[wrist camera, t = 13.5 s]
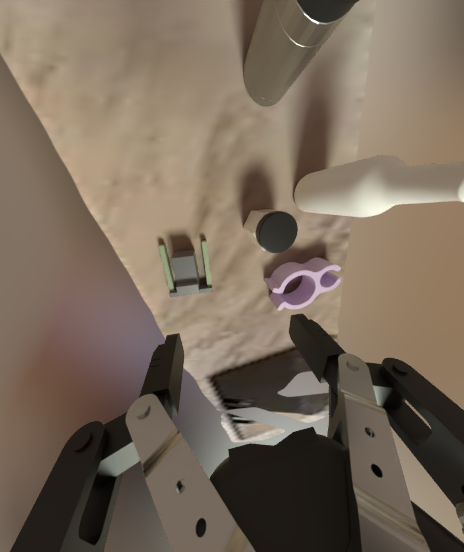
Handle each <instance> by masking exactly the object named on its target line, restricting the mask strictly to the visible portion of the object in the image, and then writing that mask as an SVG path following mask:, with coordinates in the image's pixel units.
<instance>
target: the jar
mask: <svg viewBox="0 0 464 552" xmlns="http://www.w3.org/2000/svg"><path fill="white" fill-rule="evenodd" d="M243 228H244V230H245V232H246V233H247V235H248V236H249V238H250V240H251V241H252V242H253V243H254V244H256V245H257V246H258V247H260V248H261V249H262V250H266V251H268V252H271V253H280V252H283V251H285V250H287V249H288V248H289V247H290V246H291V245H292V244H293V243H294V241H295V239H296V236H297V231H298V228H297V223H296V221H295V219H294V218H293V216H292V215H290V214H288V213H286V212H285V211H281V210H271V209H264V210H253V211H251V212H250V214H249V216H248V218H247V220H246V222H245V224H244V227H243Z"/></svg>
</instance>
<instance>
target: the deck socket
mask: <svg viewBox="0 0 464 552" xmlns="http://www.w3.org/2000/svg"><path fill="white" fill-rule="evenodd" d="M202 249H203V256H204V264H205V271H206V278H207V284H200V285H199V293H206V292H213V291H212V283H211V275H210V267H209V258H208V250H207V242H206V240H202ZM159 250H160V254H161V258H162V262H163V266H164V270H165V274H166V278H167V282H168V286H169V290H170V293H169V294H170V297H177V296H178V293H177V289H176V288H175V283H174V279H173V275H172V270H171V266H170V262H169V257H168V253H167V249H166V244H160V245H159ZM199 293H197V294H199ZM190 295H191V294H190ZM182 296H184V295H182Z"/></svg>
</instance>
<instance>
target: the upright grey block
mask: <svg viewBox="0 0 464 552" xmlns="http://www.w3.org/2000/svg"><path fill="white" fill-rule="evenodd" d="M171 261H172V265H173V269H174V273H175V278H176V282H177V286H176V289H177V293H178V296H182V295H190V294H197V293H199V284H200V279H199V273H198V267H197V261H196V255H195V250H194V249H192V250H182V251H175V252H174V254H173V256H172V258H171Z"/></svg>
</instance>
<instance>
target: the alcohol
mask: <svg viewBox="0 0 464 552" xmlns="http://www.w3.org/2000/svg"><path fill="white" fill-rule="evenodd" d="M294 199H295V203H296V205H297V207H298V208H299V209H300V210H301V211H304V212H312V213H323V214H333V215H344V216H354V217H369V216H374V215H378V214H381V213H382V212H384V211H386V210H388V209H389V208H391V207H392V206H394V205H397V204H413V203H428V202H445V201H461V202H464V161H454V162H443V163H433V164H423V165H412V166H410V165H406V163H405V162H404V161H402V160H401V159H399V158H398V157H396V156H386V155H381V156H380V155H378V156H375V157H371V158H367V159H363V160H359V161H355V162H351V163H348V164H344V165H340V166H336V167H332V168H329V169H325V170H321V171H317V172H313V173H310V174H307V175H305V176H304V177H303V178H302V179H301V180H300V181H299V183H298V184H297V186H296V189H295V194H294Z"/></svg>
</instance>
